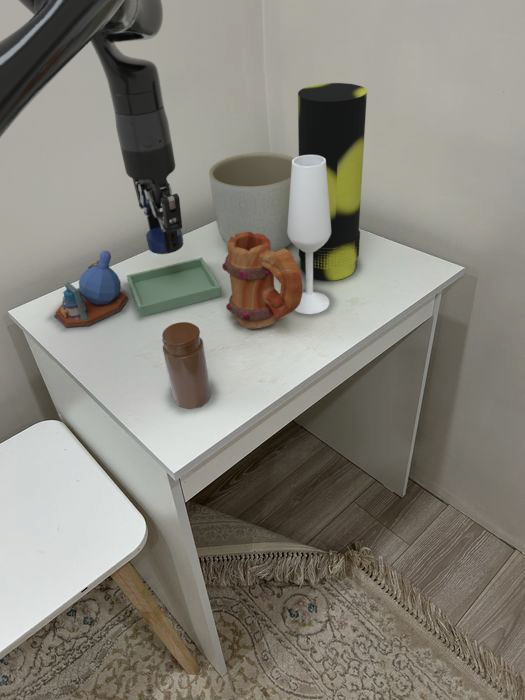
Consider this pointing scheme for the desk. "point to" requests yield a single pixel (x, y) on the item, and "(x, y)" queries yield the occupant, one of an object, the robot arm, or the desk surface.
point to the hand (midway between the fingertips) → (165, 242)
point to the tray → (173, 286)
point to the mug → (261, 280)
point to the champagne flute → (309, 220)
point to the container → (335, 168)
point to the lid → (160, 241)
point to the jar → (186, 365)
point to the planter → (253, 196)
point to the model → (92, 296)
